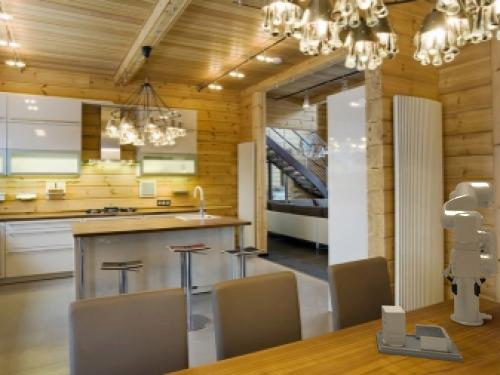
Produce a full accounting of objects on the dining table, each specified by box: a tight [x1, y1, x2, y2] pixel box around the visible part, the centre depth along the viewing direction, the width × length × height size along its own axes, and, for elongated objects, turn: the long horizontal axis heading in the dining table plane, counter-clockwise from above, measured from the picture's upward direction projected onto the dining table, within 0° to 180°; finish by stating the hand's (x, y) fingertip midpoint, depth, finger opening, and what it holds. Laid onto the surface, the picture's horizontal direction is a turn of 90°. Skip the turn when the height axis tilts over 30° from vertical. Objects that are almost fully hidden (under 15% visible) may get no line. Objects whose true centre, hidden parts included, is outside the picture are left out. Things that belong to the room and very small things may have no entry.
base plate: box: [375, 330, 464, 363], centre depth 138 cm, size 28×16×2 cm, turn 74°
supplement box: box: [381, 305, 407, 345], centre depth 140 cm, size 7×7×13 cm
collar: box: [414, 323, 452, 353], centre depth 136 cm, size 10×12×5 cm
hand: (465, 294), depth 133 cm, fingers open, 6 cm apart
